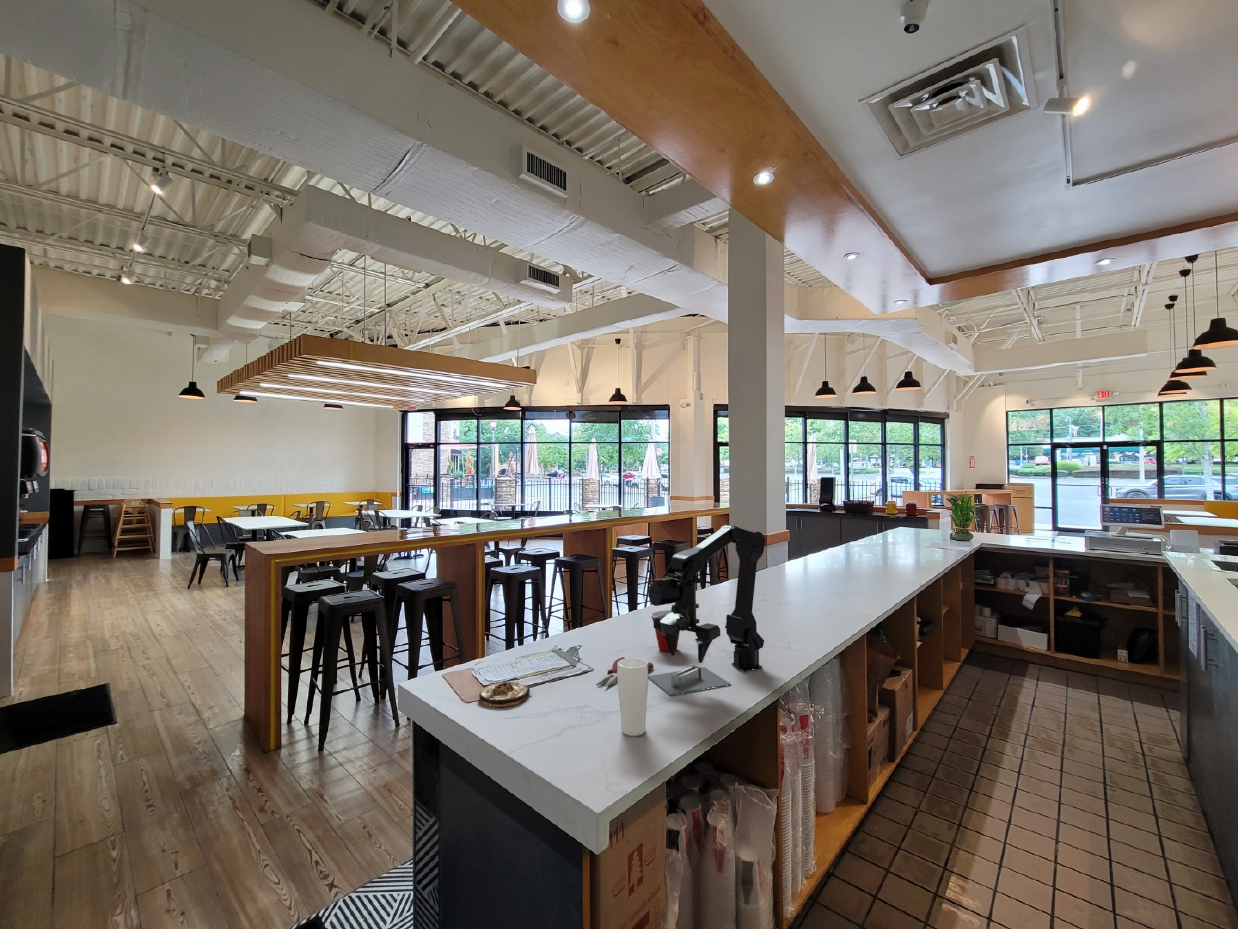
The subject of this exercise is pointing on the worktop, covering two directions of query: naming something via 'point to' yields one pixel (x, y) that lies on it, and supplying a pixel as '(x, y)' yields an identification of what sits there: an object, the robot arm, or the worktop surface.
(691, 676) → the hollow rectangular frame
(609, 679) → the pliers
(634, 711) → the white tumbler
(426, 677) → the worktop surface
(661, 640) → the plastic cup
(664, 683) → the mat
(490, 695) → the pie
